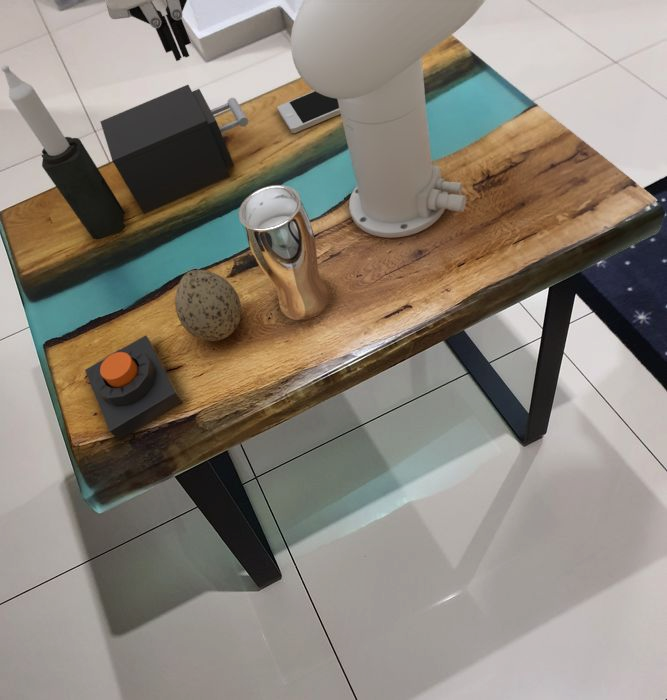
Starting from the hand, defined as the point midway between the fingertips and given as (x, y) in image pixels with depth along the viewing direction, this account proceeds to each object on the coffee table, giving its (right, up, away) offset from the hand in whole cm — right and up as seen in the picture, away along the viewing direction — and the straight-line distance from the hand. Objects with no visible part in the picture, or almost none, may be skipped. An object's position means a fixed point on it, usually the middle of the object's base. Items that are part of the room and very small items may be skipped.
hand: (180, 53), depth 73 cm
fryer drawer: (-3, -5, +24) cm, 24 cm away
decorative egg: (+4, -31, +5) cm, 32 cm away
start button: (-6, -36, -1) cm, 37 cm away
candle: (-15, -15, +21) cm, 30 cm away
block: (-5, -38, +2) cm, 39 cm away
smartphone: (+17, +4, +27) cm, 32 cm away
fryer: (-6, -7, +24) cm, 26 cm away
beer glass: (+14, -28, +5) cm, 31 cm away
